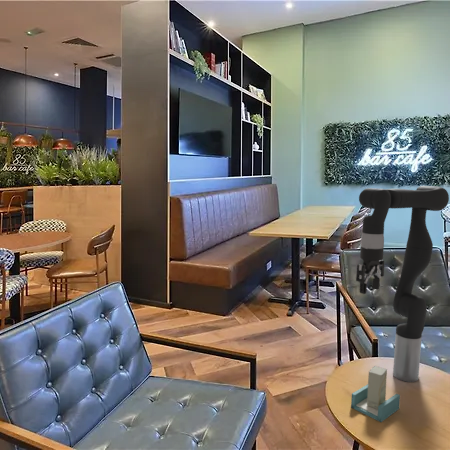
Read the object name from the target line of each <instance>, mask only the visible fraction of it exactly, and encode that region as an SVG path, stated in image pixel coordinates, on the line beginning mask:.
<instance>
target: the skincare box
mask: <svg viewBox="0 0 450 450" xmlns="http://www.w3.org/2000/svg"><path fill="white" fill-rule="evenodd" d="M387 370H388V369H387V368H384V367H380V366H377V365H374V366H372V367H371V369H370V370H369V371H368V381H367V384H368V396H367V406H370V407H373V408H375V409H378V406H379V405H381V404H382V403H384V402H385V400H386V395H387V393H386V391H387V374H388V373H387V372H388V371H387Z"/></svg>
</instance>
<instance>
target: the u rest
mask: <svg viewBox="0 0 450 450" xmlns="http://www.w3.org/2000/svg"><path fill="white" fill-rule="evenodd" d="M367 396H368V383H367V384H366V385H364V386H363V387H361V388H359V389H357V390H355V391H354V392H352V393H351V401H350V402H351V403H350V404H351V405H350V408H351V409H353V410H355V411H357V412H359V413H361V414H364V415H366V416H367V417H370V418H371V419H374V420H375V421H378V422H380V423H382V422H384V421H385V420H386V419H388V418H389V417H390V416H391V415H393V414H394V413H396V412H397V411H399V410H400V401H401V399H400V398H401V395H400V394H398V393H395V394H393V395H392V396H391V397H390V398H388V399H385V402H384V403H382V404H381V405H379V406H378V409H375V408H373V407H370V406H367Z"/></svg>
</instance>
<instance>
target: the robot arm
mask: <svg viewBox="0 0 450 450" xmlns="http://www.w3.org/2000/svg"><path fill="white" fill-rule="evenodd" d="M358 201H359V203H360V205H361V206H362V207H363V208H365V209H373V211H372V214H370V215H366V216H364V217H363V219H362V230H361V231H362V232H361V233H362V234H361V238H360V253H359V254H360V255H359V257H360V259H361V260H363V261H362V264H360V263H358V264H357V266H356V275H355V281H356V282H357V283H359V293H360V294H362V295H365V294H367V293H368V291H367V290H368V289H367V287H368V286H367V285H368V281H369V279H370V278H371V277H373V279H372V289H374V290H379V289H380V282H381V279H382V278H383V277H384V276H385V260H384V249H385V248H384V247H385V237H384V234H385V222H386V219H387V216H388V213H389V211H390V210H389V209H411V216H410V225H409V232H408V238H407V242H406V246H405V250H404V257H403V258H404V259H403V262H402V268H401V272H400V276H399V281H398V284H397V287H396V290H395V292H394V293H395V294H394V297H393V301H392V308H393V311H394V312H395V313H396V314H397V315H399V316H401V317H405V318H406V319H407V320H406V323H400V324H398V325H397V326H396V328H395V336H394V337H395V338H394V339H395V341H394V352H393V353H394V355H393V356H394V357H393V367H392V375H393V377H394V378H396V379H397V380H400V381H403V382H407V383H408V382H409V383H414V382H417V381H418V380H419V374H420V362H421V351H422V350H421V348H422V336H423V332H424V330H425V329H424V328H425V323H426V319H427V318H426V316H427V302H426V300H425V298H423V297H422V296H419V295H416V294H413V288H414V285H415V282H416V281H417V279H418V277H419V276H420V275H421V274H422V273H424V271H425V270H426V269H427V268H428V266H429V264H430V263H431V260H432V259H431V258H432V255H433V254H432V253H433V248H434V245H433V240H432V238H431V235H430V232H429V229H428V228H427V222H426V219H427V218H426V217H427V212H428V211H432V212H439V211H442V210H444V209H445V208H447V206H448V204H449V201H450V195H449V193H448V190H447V189H445V188H444V187H441V186H435V185H434V186H433V185H432V186H431V185H420V186H418V187H417V188H416V189H406V188H387V189H385V188H375V187H367V188H365V189H362V190H361V192H360V194H359V195H358Z"/></svg>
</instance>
